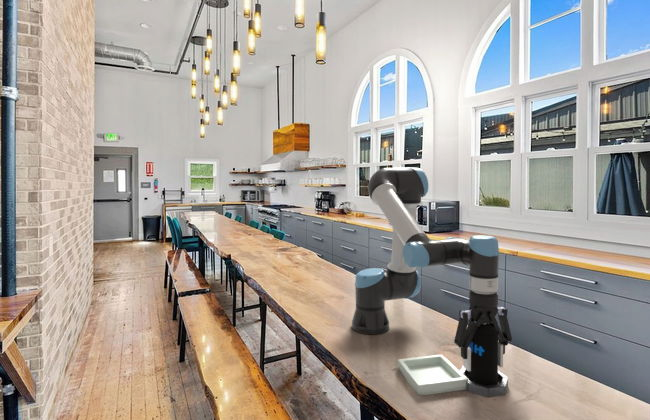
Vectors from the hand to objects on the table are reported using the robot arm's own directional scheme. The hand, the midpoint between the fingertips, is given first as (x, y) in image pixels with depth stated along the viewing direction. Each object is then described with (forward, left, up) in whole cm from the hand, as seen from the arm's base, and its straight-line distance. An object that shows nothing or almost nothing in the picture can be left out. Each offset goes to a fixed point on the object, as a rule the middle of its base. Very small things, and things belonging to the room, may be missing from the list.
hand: (482, 366), depth 104 cm
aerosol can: (0, 0, -5) cm, 5 cm away
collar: (0, 0, -5) cm, 5 cm away
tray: (-6, -13, -5) cm, 15 cm away
